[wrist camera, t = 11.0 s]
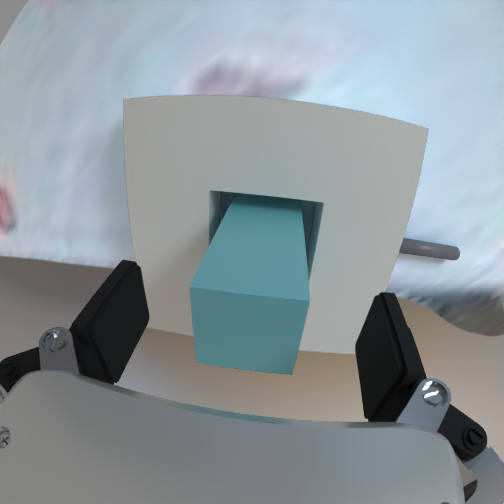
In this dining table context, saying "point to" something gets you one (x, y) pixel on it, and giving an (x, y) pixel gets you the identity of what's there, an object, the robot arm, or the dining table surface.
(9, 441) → the robot arm
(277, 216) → the plug
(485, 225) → the dining table surface
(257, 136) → the white square-hole board
